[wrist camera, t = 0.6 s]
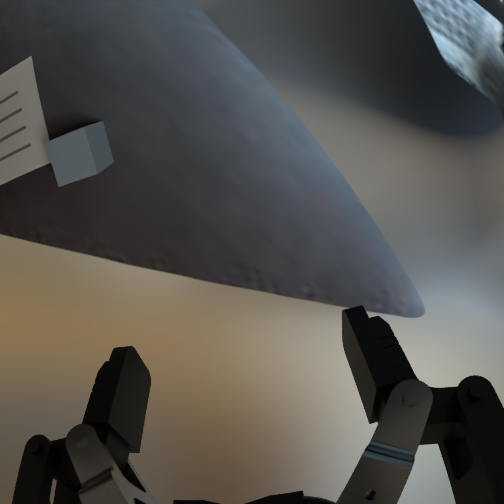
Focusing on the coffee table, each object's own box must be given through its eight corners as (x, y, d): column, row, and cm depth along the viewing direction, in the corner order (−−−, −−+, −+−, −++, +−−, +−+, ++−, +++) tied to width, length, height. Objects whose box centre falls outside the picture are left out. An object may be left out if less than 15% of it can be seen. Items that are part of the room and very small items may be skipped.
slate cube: (66, 134, 30) (45, 142, 26) (102, 120, 30) (84, 126, 26) (78, 173, 33) (59, 186, 28) (114, 161, 32) (97, 173, 28)
